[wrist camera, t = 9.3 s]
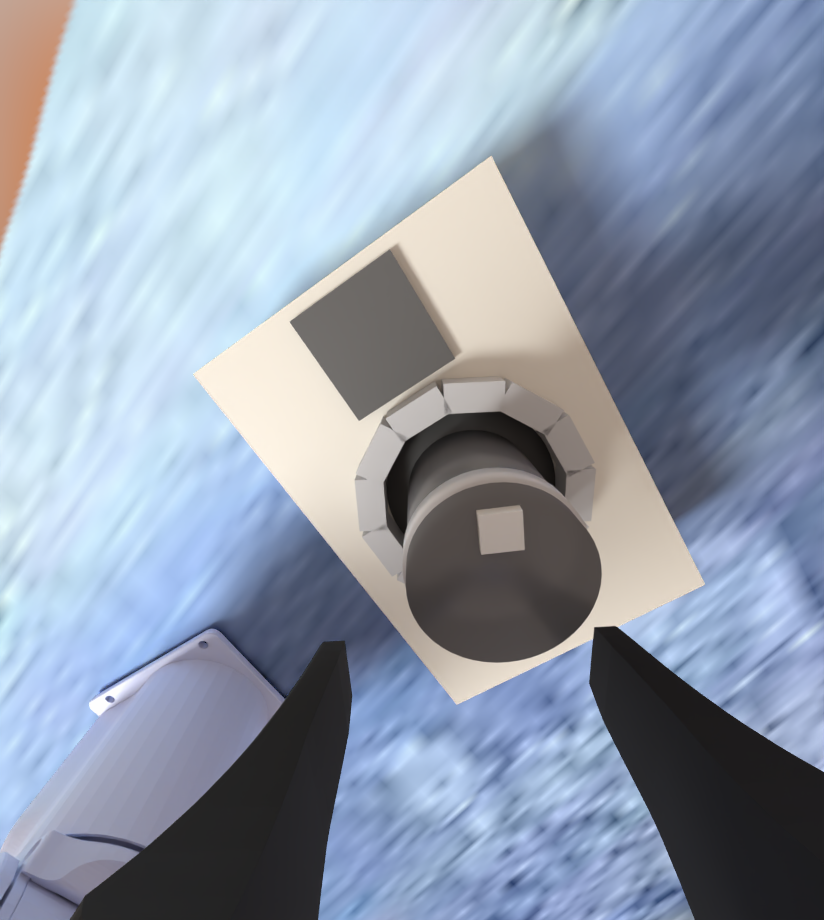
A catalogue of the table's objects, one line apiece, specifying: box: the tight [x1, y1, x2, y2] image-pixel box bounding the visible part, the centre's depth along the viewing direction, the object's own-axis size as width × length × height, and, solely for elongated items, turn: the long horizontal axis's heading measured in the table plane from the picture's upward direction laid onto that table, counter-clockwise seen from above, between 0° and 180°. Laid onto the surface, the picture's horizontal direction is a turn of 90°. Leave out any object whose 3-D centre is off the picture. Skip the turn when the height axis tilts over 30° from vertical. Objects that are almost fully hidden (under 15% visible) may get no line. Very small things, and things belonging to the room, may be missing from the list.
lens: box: [402, 430, 602, 663], centre depth 13 cm, size 5×5×6 cm
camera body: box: [193, 156, 705, 704], centre depth 17 cm, size 12×18×5 cm, turn 33°
